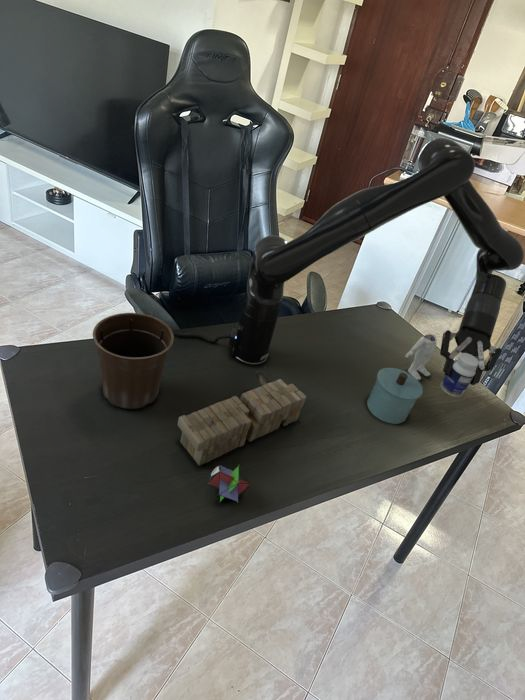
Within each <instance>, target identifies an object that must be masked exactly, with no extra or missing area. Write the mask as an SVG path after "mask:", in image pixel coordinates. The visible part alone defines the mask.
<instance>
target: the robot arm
mask: <svg viewBox="0 0 525 700" xmlns="http://www.w3.org/2000/svg"><path fill="white" fill-rule="evenodd" d="M475 167H476V163H475V159H474V157H473V156H472V154H471V153H469V151H468V150H466V149H465V148H464V147H463V146H462V145H460V144H459V143H458V142H456V141H455V140H452V139H450V138H447V137H439V138H435V139H432V140H430V141H429V142H428V143H426V144H425V145H424V146H423V148H422V149H421V151H420V153H419V155H418V171H417V172H415V173H413V174H411V175H410V176H407V177H406V178H403V179H401V180H399V181H395V182H391V183H386V184H381V185H376V186H370V187H367V188H363V189H361V190H359V191H357V192H353V194H351V195H349V196H347V197H346V198H344V199H342V200H341V201H338V202H337V203H335V204H334V205H332V206H331V207H330V208H328V209H327V211H325V212H324V213H323V215H321V217H320V218H319V219H318V220H317V221H316V222H315V223H314V224H313V225H312V226H311V227H310V228H309V229H308V230H307V231H306V232H304V233H302V234H300V236H298V237H296V238H294V239H291V240H290V241H287V240H286V239H285V238H283V237H281V236H279V235H267V236H264V237H263V238H261V239H260V240H259V241H258V242H257V243H256V244H255V246H254V248H253V251H252V254H251V255H252V256H251V260H250V265H249V270H248V275H247V279H246V290H245V295H244V300H243V305H242V310H241V314H240V317H239V321H238V326H237V328H236V327H231V331H230V334H220V335H217V336H216V337H215V338H210V337H208V336H205V335H204V334H200V333H194V332H193V333H191V332H190V333H189V332H188V333H184V332H180V331H177V330H175V329H174V328H172V326H170V325H169V324H167V323H166V322H165V321H163V322H164V323H166V324H167V325H168V326H169V327H170V329H171V330H172V332H173V335H174V336H177V337H182V338H199V339H202V340H203V341H205V342H208V343H212V344H213V343H217V342H218V341H219V340H223V339H229V341H228V346H231V347H233V348H232V355H231V358H232V359H235V360H237V361H238V362H240V363H242V364H244V365H247V366H259V365H262V364H264V363H266V361H267V359H268V357H269V355H270V353H269V351H270V346H271V343H272V339H273V336H274V331H275V329H276V325H277V321H278V318H279V315H280V311H281V307H282V303H283V301H284V289H285V283H286V282H288V281H289V280H291V279H292V278H294V277H296V276H297V275H298V274H299V273H301V272H303V271H304V270H305V269H307V268H309V267H310V266H312V265H313V264H314V263H316V262H318V261H319V260H321V259H323V258H324V257H327V256H328V255H331V254H332V253H334V252H337V251H338V250H340V249H341V248H343V247H345V246H347V245H348V244H351V243H352V242H355V241H357V240H359V239H361V238H363V237H364V236H367V235H368V234H370V233H372V232H374V231H375V230H377V229H379V228H380V227H382V226H384V225H385V224H386V225H387V224H388V223H390V222H391V221H394V220H396V219H397V218H399V217H401V216H403V215H405V214H407V213H409V212H411V211H412V210H415V209H417V208H419V207H421V206H424V205H426V204H429V203H431V202H433V201H436V200H438V199H441V198H444V199H445V201H446V202H447V203H448V206H449V207H450V208H451V210H452V211H453V213H454V215H455V216H456V218H457V220H458V221H459V223H460V226H462V229H463V230H464V231H465V233H466V234H467V236H468V238H469V239H470V241H471V242H472V244H473V245H474V246H475V247H476V248H477V249H478V251H477V253H476V258H475V261H476V265H475V266H476V271H475V282H474V286H473V289H472V292H471V294H470V297H469V300H468V301H467V303H466V306H465V308H464V312H463V316H462V318H461V322H460V325H459V327H458V331H457V332H452V331H451V330H449V329H447V330H445V331H444V332H443V333H442V338H441V343H440V351H439V354H440V356H442V357H443V358H445V363H444V365H443V368H442V372H443V375H444V376H445V375H446V376H448V375H449V374H450V372H451V369H452V366H453V363H454V361H455V360H454V359H455V358H456V357H457V356H459V355H460V354H461V353H468V354H471V355H473V356H474V357H476V358H477V359H478V361H479V364H478V366H477V368H475V370H476V373H475V375H474V377H473V379H472V380H471V382H470V384H469V385H471V386H475V385H477V384H479V382H480V381H481V377H482V375H483V372H490V371H492V370H493V369H494V367H495V365H496V363H497V361H498V360H499V357H500V356H501V354H502V352H503V350H502V348H501V347H495V346H493V345H492V344H491V340H492V336H493V333H494V330H495V326H496V324H497V320H498V318H499V314H500V310H501V306H502V305H501V304H502V301H503V298H504V295H505V293H506V292H505V291H506V288H507V281H506V279H505V278H504V277H502V276H500V275H497V274H495V273H494V274H493V272H494V271H496V272H498V271H513V270H517V269H519V267H520V266H522V264H523V262H524V259H525V252H524V247H523V246H522V244H521V242H520V241H519V240H518V239H517V238H516V237H514V236H513V235H512V234H511V233H510V232H508V231H507V230H506V229H504V227H502V225H501V224H500V222H499V220H498V219H497V216H496V215H495V213H494V211H493V210H492V209H491V207H490V206H489V205H488V204H487V202H486V201H485V199H484V198H483V197H482V195H480V193H479V192H478V191H477V189H476V188H475V187H474V185H473V184H472V182H471V178H472V176H473V174H474V172H475ZM453 339H454V340H455V344H456V347H455V348H454V349H452V351H451V352H450V351H449V350H450V343H451V341H452V340H453ZM487 350H488V354H489V357H488V360H487V361H486V363H485V352H487Z"/></svg>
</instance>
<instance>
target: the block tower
mask: <svg viewBox="0 0 525 700" xmlns="http://www.w3.org/2000/svg"><path fill="white" fill-rule="evenodd" d="M269 382H270V383H268V384H266V385H263V386H262V385H261V386H258V387H256V388H253V389H251V390H248V391H245V392H243V393H241V396H240V398H239V397H238V396H237V395H233V396H231V398H227V399H224V400H222V401H218V402H216V403H214V404H211V405H209V406H207V407H204V408H202V409H199V410H197V411H193V412H191V413H190V414H187V415H185V414H183V415H180V416H179V417H178V420H177V427H178V428H179V429H180V430H181V436H180V440H179V441H180V444H181V445H182V446H183V448H184V449H185V450H186V451H187V452H188V454H189V455H190V456H191V458H192V459H193V460H194V461H195V463H196V465H198V466H202V465H204V464H208V463H209V462H211V461H213V460H215V459H217V458H220V457H222V456H223V455H225V454H227V453H229V452H231V451H233V450H235V449H237V448H241V447H243V446H245V444H246V441H248V442H249V443H250V442H253V441H254V440H257V439H259V438H261V437H264V436H265V435H268V434H269V433H272V432H274V431H276V430H279V429H280V426H282V427H285V426H288V425H289V424H292V423H295V422H297V421H298V418H299V417H300V414H301V412H302V409H303V407H304V404H305V403H306V399H307V395H305V394H304V393H303V392H302V391H301V390H299V388H298V387H296V386H295V385H294V383H290V384H286V382H285V381H284V380H283V379H281V378H279V379H277V380H275V381H272V382H271V381H269Z"/></svg>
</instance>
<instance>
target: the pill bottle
mask: <svg viewBox="0 0 525 700" xmlns="http://www.w3.org/2000/svg"><path fill="white" fill-rule="evenodd" d="M478 364H479V361H478V359H477V358H476V357H474V356H473V355H471V354H468V353H461V352H460V353H459V354H458V357H457V359H456V360H454V363H453V366H452V369H451V372H450V374H449V375H448V376H446V375H444V377H443V379H442V381H441V382H440V388H441V389H442V391H443V392H445V393H446V394H447V395H449V396H451V397H454V398H455V397H456V398H459V397H462V396H463V395H464V393H465V391H467V389H468V387H469V386H470V385H471V384H470V382H471V380H472V379H473V377H474V375H475V373H476V368H477V366H478Z"/></svg>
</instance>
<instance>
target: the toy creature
mask: <svg viewBox="0 0 525 700" xmlns="http://www.w3.org/2000/svg"><path fill="white" fill-rule="evenodd" d="M436 347H437V336H436V334H425V335H423V336H421V337H419V339H418V340H417V341H416V343H415V344H414V345H412V347H411V348H410V350H409V351H408V352H407V353H406V354H405V358H406V359H409V356H412V355H414V358H413V361H412V362H411V365H410V367H408V370H407V373H409V374H411V375H412V376H413V377H415V378H416V379H417V380H418V381H420V380H422V377H421V375H420V373H421V374H422V375H423V376H425V377H430V376H432V374H431V373H430V372H429V371H428V370H427V369H426V367H425V366H426V365H427V364H428V363H429V361H430V359H431V357H432V356H433V354H434V353H435V350H436ZM419 372H420V373H419Z"/></svg>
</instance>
